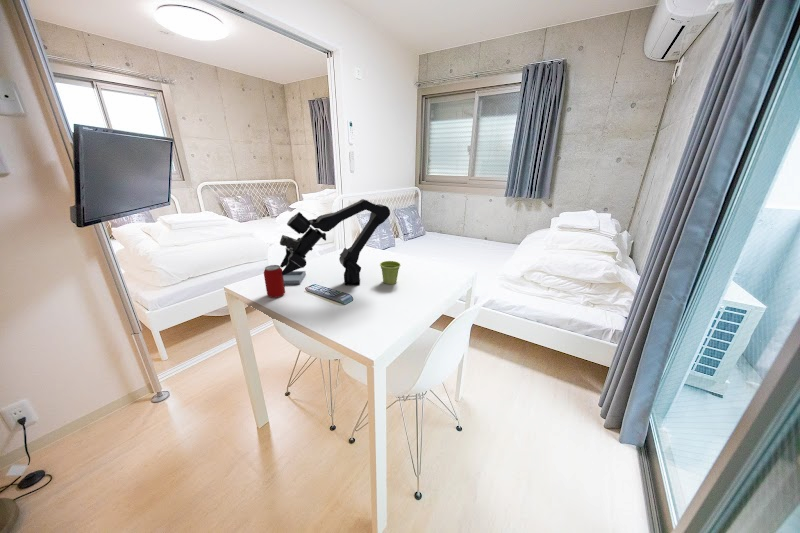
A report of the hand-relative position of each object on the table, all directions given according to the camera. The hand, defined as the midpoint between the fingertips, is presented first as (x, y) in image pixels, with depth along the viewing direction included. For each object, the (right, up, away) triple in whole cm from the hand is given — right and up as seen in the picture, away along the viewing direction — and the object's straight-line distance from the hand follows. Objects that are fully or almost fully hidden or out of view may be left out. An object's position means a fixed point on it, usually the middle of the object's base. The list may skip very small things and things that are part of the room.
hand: (281, 270), depth 109 cm
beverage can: (-3, -10, +2) cm, 11 cm away
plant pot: (+43, -6, +17) cm, 46 cm away
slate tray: (-4, -4, +17) cm, 18 cm away
